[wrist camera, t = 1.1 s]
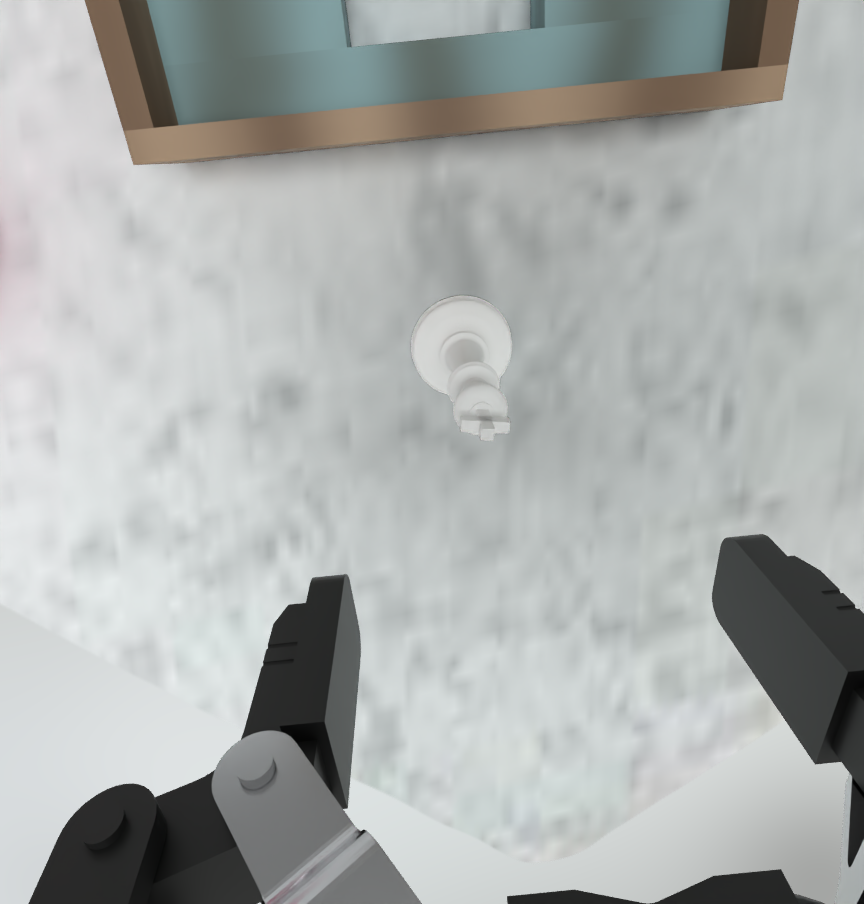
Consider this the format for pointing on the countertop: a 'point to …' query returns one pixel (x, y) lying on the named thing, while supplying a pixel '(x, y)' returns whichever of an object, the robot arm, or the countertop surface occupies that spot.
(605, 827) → the countertop surface
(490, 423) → the chess piece
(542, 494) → the countertop surface
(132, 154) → the box
